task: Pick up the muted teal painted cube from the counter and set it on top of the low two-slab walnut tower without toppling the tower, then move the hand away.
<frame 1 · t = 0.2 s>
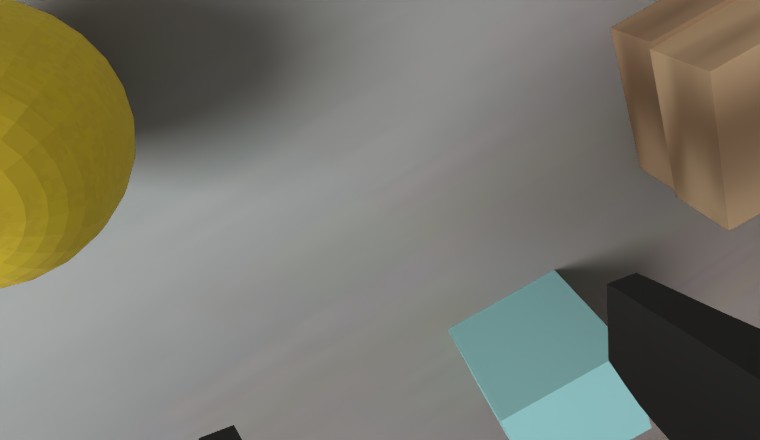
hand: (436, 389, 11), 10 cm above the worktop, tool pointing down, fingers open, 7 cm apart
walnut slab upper: (742, 84, 20), point 2 cm above the worktop, touching walnut slab lower
lemon: (34, 81, 16), on the worktop
teal cube: (517, 336, 26), on the worktop
walnut slab lower: (690, 59, 22), on the worktop, touching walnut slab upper
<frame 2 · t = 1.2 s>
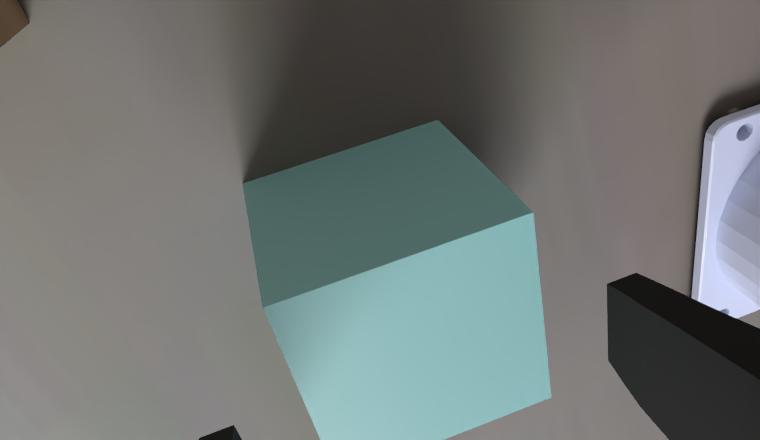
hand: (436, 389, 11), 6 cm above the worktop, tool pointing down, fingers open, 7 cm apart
teal cube: (365, 232, 16), on the worktop
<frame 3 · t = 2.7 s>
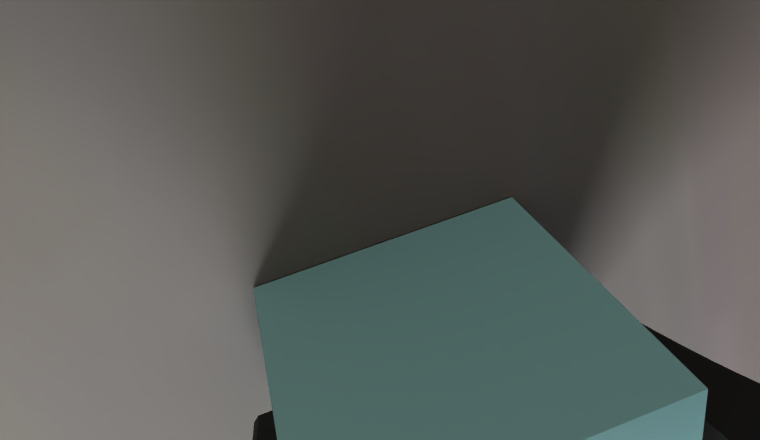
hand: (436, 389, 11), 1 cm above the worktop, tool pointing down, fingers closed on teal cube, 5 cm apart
teal cube: (412, 339, 12), on the worktop, touching gripper
when the fingers open (8 cm above the worktop, at t = 6.3 s): teal cube drops 1 cm, resting on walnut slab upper.
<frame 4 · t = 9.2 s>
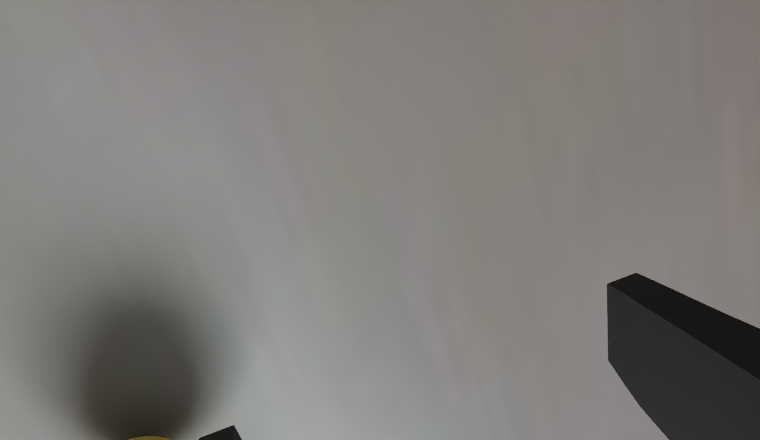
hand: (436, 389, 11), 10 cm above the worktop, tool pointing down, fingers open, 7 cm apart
lemon: (146, 439, 23), on the worktop
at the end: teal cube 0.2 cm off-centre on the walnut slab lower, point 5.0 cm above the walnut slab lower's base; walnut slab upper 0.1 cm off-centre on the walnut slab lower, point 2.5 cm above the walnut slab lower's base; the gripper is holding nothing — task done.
